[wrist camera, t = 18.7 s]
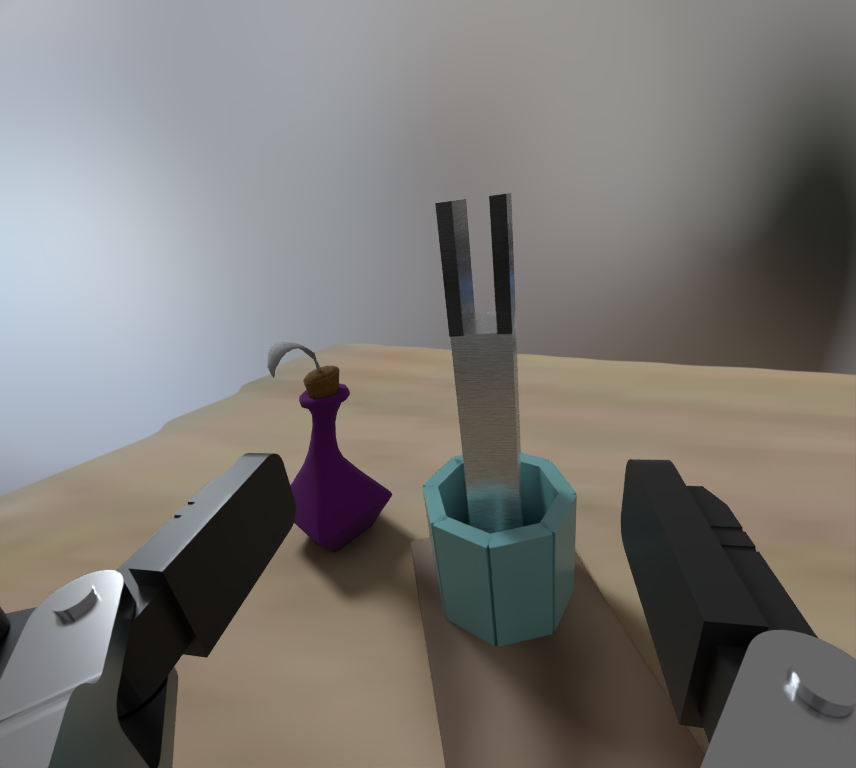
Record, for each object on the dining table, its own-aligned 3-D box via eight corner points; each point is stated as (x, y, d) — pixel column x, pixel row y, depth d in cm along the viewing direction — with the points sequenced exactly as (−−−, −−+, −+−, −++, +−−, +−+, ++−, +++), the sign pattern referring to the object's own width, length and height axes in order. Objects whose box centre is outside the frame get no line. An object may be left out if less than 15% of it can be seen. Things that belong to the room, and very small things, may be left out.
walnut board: (550, 1429, 9) (550, 1433, 9) (411, 550, 34) (410, 541, 34) (993, 1237, 11) (1010, 1234, 10) (549, 521, 35) (549, 512, 35)
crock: (453, 657, 25) (439, 559, 22) (429, 546, 33) (416, 463, 30) (594, 623, 26) (600, 524, 22) (537, 523, 34) (535, 440, 31)
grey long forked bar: (472, 595, 27) (428, 204, 18) (479, 545, 31) (447, 201, 22) (528, 602, 26) (513, 192, 17) (528, 549, 30) (517, 192, 21)
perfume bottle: (351, 491, 42) (310, 322, 35) (398, 522, 37) (362, 332, 30) (285, 533, 38) (222, 349, 31) (328, 575, 33) (266, 367, 26)
